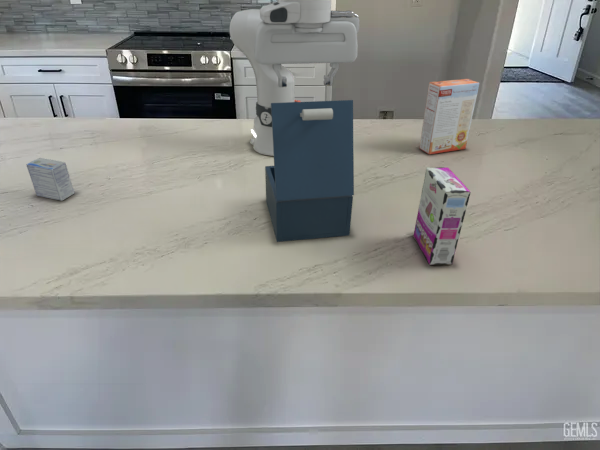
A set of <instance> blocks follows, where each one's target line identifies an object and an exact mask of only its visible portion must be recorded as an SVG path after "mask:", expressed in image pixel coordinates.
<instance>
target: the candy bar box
mask: <svg viewBox="0 0 600 450" xmlns="http://www.w3.org/2000/svg"><path fill="white" fill-rule="evenodd" d="M471 193H472V191H471V190H470V189H469V188H468V187H467V186H466V184H464V183H463V181H462V180H460V178H459V177H458V176H457V175H456V173H454V172H453V170H451V168H450V167H444V166H443V167H442V166H441V167H440V166H439V167H438V166H437V167H436V166H435V167H426V168H425V174H424V179H423V185H422V189H421V193H420V199H419V205H418V210H417V214H416V220H415V224H414V225H415V227H414V230H413V235H412V236H413V238H414V241H416V243H417V245H418V246H419V248H420V250H421V252H422V254H423V256H424V257H425V259H426V262H427V263H428V264H429V265H430V266H450V265H451V266H452V265H453V262H454V259H455V255H456V250H457V247H458V242H459V240H460V239H459V238H460V235H461V230H462V227H463V225H464V224H463V223H464V220H465V216H466V212H467V208H468V204H469V200H470V197H471Z"/></svg>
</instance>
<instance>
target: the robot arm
mask: <svg viewBox="0 0 600 450" xmlns="http://www.w3.org/2000/svg"><path fill="white" fill-rule="evenodd" d="M360 22H361V21H360V16H359V15H358V14H356V13H354V11H353V10H332V0H276V2H273V3H270V4H267V5H264V6H262V7H261V8H250V9H249V8H248V9H243V10H239V11H236V12H235V13H234V14H233V16H232V18H231V20H230V23H229V28H228V29H229V36H230V39H231V42H232V43H233V45H234V46H235V47H236V48H237V49H238V50H239V51H240V52H241V53H242V54H243V55H244V56H245V58H246V59H247V61H248V62H249V63H250V66H251V68H252V70H253V74H254V79H255V86H256V100H257V101H256V102H255V116H256V117H254V118H253V129H250V131H251V134H252V138H251V139H250V141H249V143H250V144H251V146H252V147H253V150H254V151H255V152H257V153H258V154H260V155H265V156H271V157H274V153H273V134H272V115H271V103H286V102H301V100H297V99H296V98H295V97H296V96H295V95H296V79H295V76H294V74H293V73H292V71H291V70H290V69H288V67H286V66H285V65H303V64H304V65H305V64H308V65H309V64H329V67H330V70H329V72H328V74H327V75H323V86H325V87H332V86H333V83H334V77H335V76H336V74H337V73H338V71H339V69H340V64H346V63H347V64H351V63H354V62H355V61H356V60H357V58H358V54H359V53H358V48H359V47H358V43H359V42H358V33H359V31H360Z"/></svg>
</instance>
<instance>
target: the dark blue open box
mask: <svg viewBox="0 0 600 450" xmlns="http://www.w3.org/2000/svg"><path fill="white" fill-rule="evenodd" d="M264 172H265V173H264V174H265V175H264V177H265V203H266V207H267V211H268V214H269V218H270V221H271V225H272V229H273V233H274V236H275V240H276V241H275V242H276V243H282V242H293V241H302V240H313V239H325V238H326V239H327V238H335V237H336V238H337V237H346V236H347V237H348V236H350V235H351V225H352V212H353V201H354V195H350V196H337V197H324V198H311V199H298V200H284V201H276V190H275V171H274V165H265V167H264Z"/></svg>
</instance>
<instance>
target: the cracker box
mask: <svg viewBox="0 0 600 450" xmlns="http://www.w3.org/2000/svg"><path fill="white" fill-rule="evenodd" d="M479 87H480V82H479V81H475V80H473V79H471V78H462V79H461V78H460V79H451V80H441V81H440V80H439V81H430V82H429V83H428V89H427V95H426V101H425V109H424V115H423V121H422V127H421V135H420V139H419V149H420V150H421V151H423V152H424V153H425V154H427V155H436V154H442V153H447V152H448V153H449V152H455V151H461V150H466V148H467V144H468V139H469V134H470V129H471V125H472V121H473V115H474V112H475V107H476V101H477V98H478V97H477V96H478V92H479Z"/></svg>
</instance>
